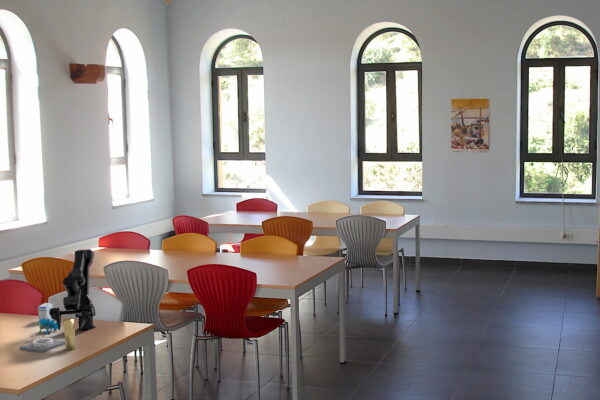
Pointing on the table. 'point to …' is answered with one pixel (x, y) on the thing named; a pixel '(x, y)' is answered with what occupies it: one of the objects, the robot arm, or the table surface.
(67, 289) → the robot arm
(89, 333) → the table surface
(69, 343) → the brass shaft
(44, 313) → the medicine box
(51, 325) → the gear
